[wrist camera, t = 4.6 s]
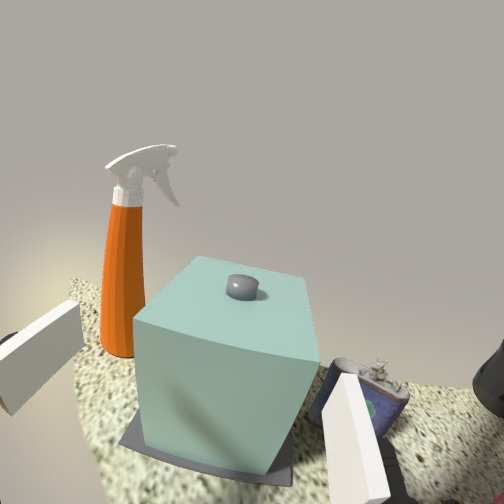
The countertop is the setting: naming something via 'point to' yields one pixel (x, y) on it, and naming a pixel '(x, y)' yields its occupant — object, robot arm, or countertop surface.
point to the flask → (365, 393)
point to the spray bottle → (128, 244)
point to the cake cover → (224, 363)
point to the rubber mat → (275, 475)
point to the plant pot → (499, 498)
